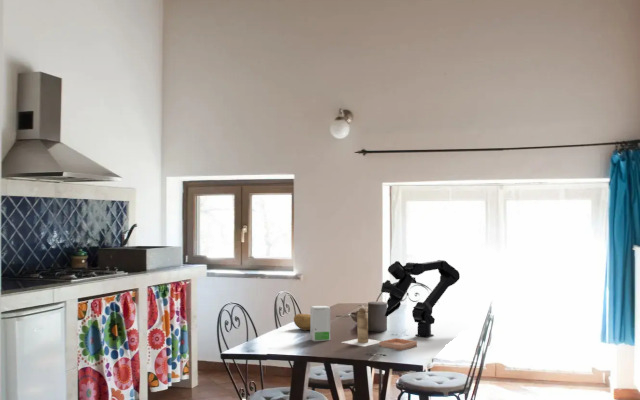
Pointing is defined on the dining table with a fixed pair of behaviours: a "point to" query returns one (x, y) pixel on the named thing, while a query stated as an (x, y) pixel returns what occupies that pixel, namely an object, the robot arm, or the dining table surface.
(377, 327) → the pillar candle
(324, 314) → the skincare box
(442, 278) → the robot arm
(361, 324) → the pepper mill
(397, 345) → the terracotta dish
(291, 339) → the dining table surface
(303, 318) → the potato
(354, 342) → the felt mat
